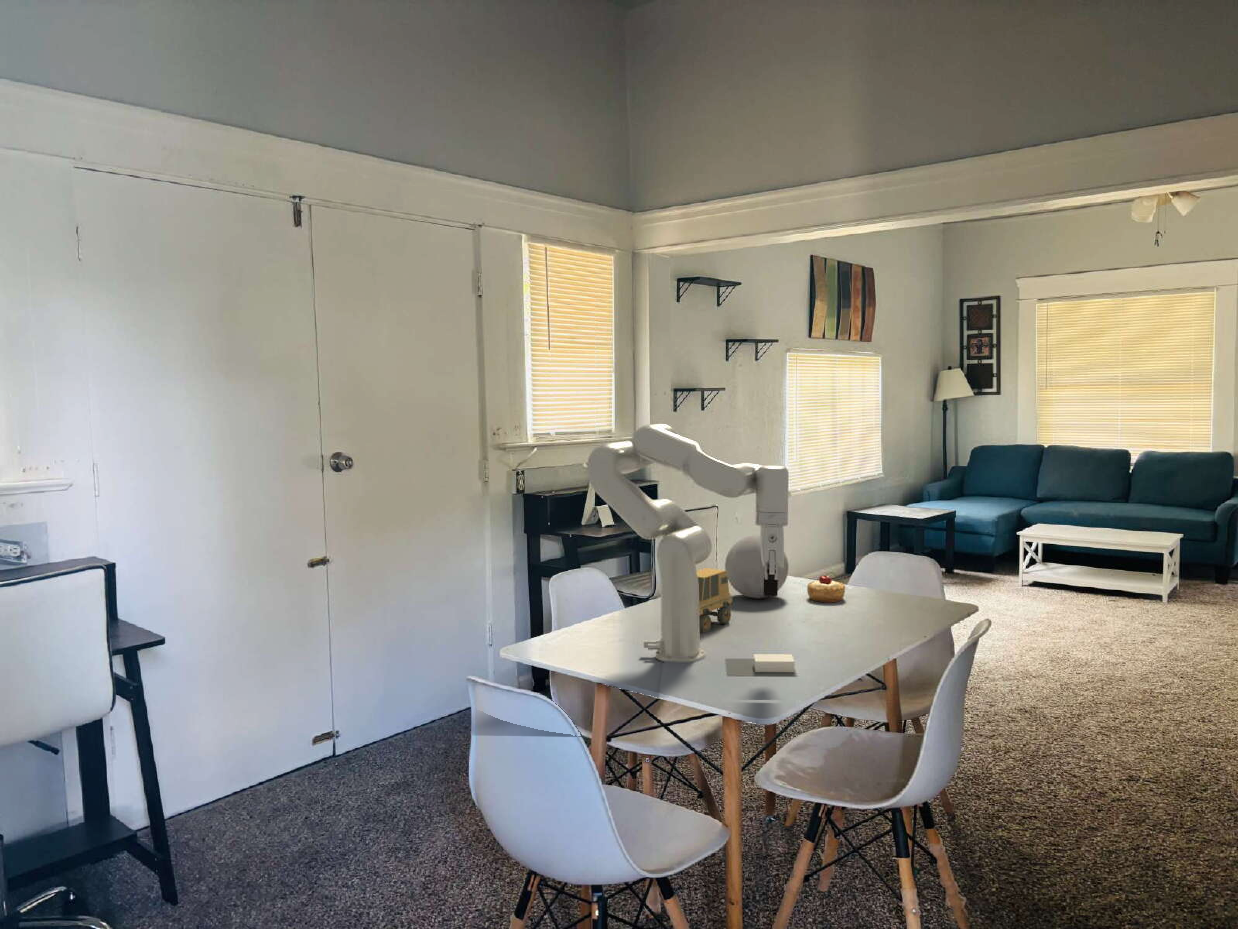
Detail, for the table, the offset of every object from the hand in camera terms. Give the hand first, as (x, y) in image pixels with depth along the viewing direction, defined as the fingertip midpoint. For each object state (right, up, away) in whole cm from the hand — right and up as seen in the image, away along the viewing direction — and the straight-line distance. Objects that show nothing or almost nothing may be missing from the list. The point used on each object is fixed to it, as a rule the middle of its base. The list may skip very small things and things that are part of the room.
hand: (770, 595), depth 219 cm
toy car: (-12, -15, +44) cm, 48 cm away
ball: (+8, -12, +78) cm, 79 cm away
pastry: (+30, -12, +74) cm, 81 cm away
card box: (+1, -16, +2) cm, 16 cm away
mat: (-2, -18, +1) cm, 18 cm away
